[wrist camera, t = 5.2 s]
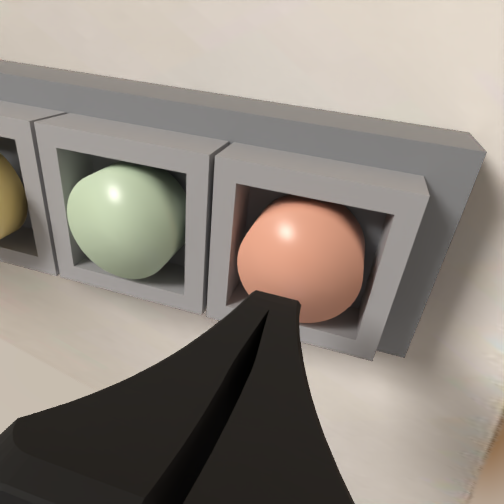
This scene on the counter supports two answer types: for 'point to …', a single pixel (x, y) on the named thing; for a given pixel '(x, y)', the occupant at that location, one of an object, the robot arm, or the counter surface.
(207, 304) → the button panel
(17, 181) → the yellow rounded piece
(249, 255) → the salmon pink button
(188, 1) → the counter surface
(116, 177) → the sage button
